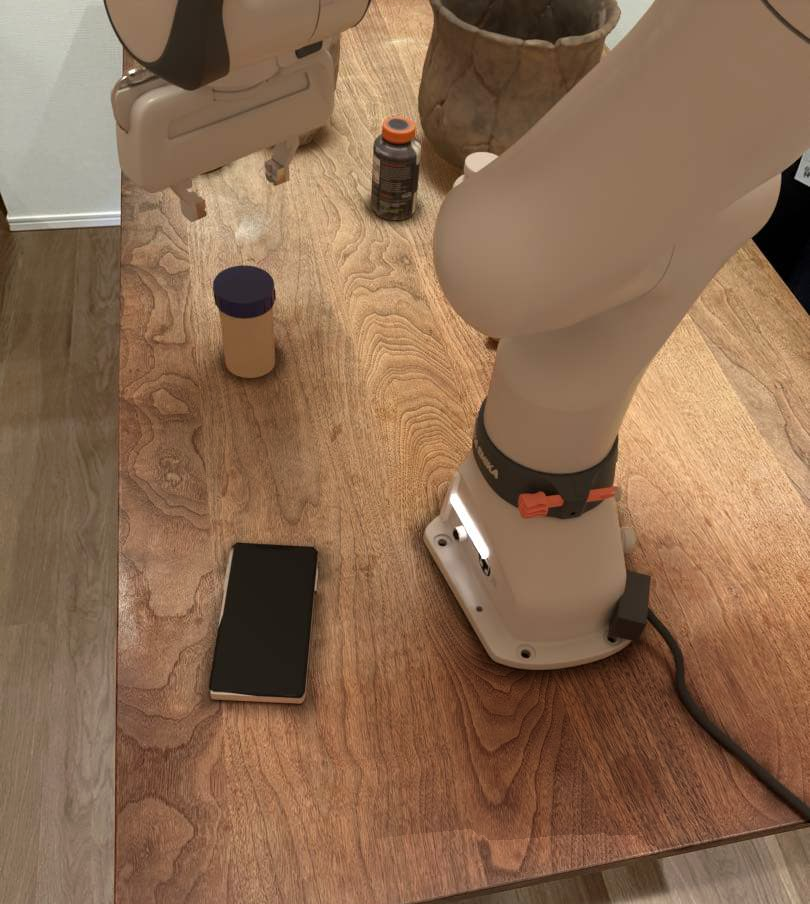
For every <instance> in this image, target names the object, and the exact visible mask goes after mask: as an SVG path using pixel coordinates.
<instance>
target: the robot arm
mask: <svg viewBox="0 0 810 904" xmlns="http://www.w3.org/2000/svg"><path fill="white" fill-rule="evenodd" d="M102 2H103V6H104V9H105V12H106V16H107V18H108V21H109V23H110V26H111V28H112V30H113V32H114V34H115V36H116V38H117V39H118V42H119V44H120V45H121V46H122V48H123V49H124V50H125V51H126V53H127V54H128V55H129V56H130V57H131V58H132V59H133V60H134V61H135V62H137V65H133V66H130V67H128V68H127V69H124V71H123V73H122V75H123V76H122V77H120V78H119V79H118V80H117V81H116V83H115V84H114V86H113V88H112V89H111V91H110V104H111V109H112V115H113V119H114V120H115V136H116V147H117V156H118V163H119V167H120V170H121V172H122V173H123V174H124V176H125V177H126V178H127V179H129V181H131V182H132V183H133V184H134V185H136V186H137V187H139V189H142V190H143V191H144V192H147V193H149V194H156V193H159V192H161V191H164V190H166V189H168V188H169V189H170V190H171V191H172V192H173V193H174V194H175V196H177V197H178V198H179V204H180V211H181V214H182V215H183V217H184V218H185V219H186V220H188V221H189V222H190V223H193V222H195V221H198V220H201V219H203V218H205V217H207V214H208V213H207V210H206V207H207V205H206V199H205V198H203V197H202V196H200V195H199V194H198V193H196V191H194V190H192V191H188V190H190V189H192V188H193V178H196V177H198V176H202V175H204V174H205V173H209V172H212V171H214V170H216V168H217V169H218V168H221V167H223V166H227V165H229V164H231V163H233V162H236V161H238V160H240V159H241V160H242V159H243V158H246V157H248V156H250V155H254V154H256V153H258V152H260V151H263V150H266V149H268V148H270V147H273V146H274V148H273V151H272V154H271V158H269V159H267V160H265V161H264V169H265V172H264V176H265V178H266V180H267V182H269V183H270V184H272V185H273V186H274V187H277V186H279V185H282V184H285V183H287V182H289V181H290V165H291V163H292V162H293V159H294V157H295V154H296V152H297V150H298V148H299V146H300V145H299V135H300V134H303V133H305V132H308V131H310V130H313V129H315V128H318V127H321V128H322V127H323V126H325V125H326V124H328V122H329V120H330V118H331V116H332V114H333V113H334V108H335V92H334V68H333V61H332V57H331V55H330V53H329V52H328V51H327V50H326V49H328V48H329V46H330V43H331V37H333V36H335V35H338V34H340V35H341V34H342V33H344V32H346V31H348V30H349V29H353V28H355V27H357V26H358V25H359V24H360V23H361V22H362V20H363V19H364V17H365V15H366V14H367V12H368V10H369V8H370V5H371V3H372V0H102ZM808 150H810V0H653V2H652V4H651V5H650V7H648V9H647V10H646V11H645V13H643V14H642V16H641V17H640V19H639V20H638V21H637V22H636V23H635V25H634V26H633V27H632V28H631V29H630V30H629V31H628V32H627V33H626V34H625V35H624V37H623V38H622V39H621V40H620V41H619V42H618V43H617V44H616V45H615V46H614V47H613V48H612V49H611V50H610V51H609V52H608V53H607V54H606V55H605V56H604V57H603V58H602V59H600V62H599V63H598V64H597V65H596V66H595V67H594V68H593V69H592V70H591V71H590V72H589V73H587V74H586V75H585V76H584V77H583V78H582V79H581V80H580V81H579V82H578V83H577V84H576V85H575V86H574V87H573V88H572V89H571V90H570V91H569V92H568V93H567V94H566V95H565V96H564V97H563V98H562V99H560V100H559V101H558V102H557V103H556V104H555V105H554V106H553V107H552V108H551V109H550V110H549V111H548V112H547V113H546V114H545V115H544V116H543V117H542V118H541V119H540V120H539V121H538V122H537V123H536V124H535V125H534V126H533V127H532V128H531V129H530V130H529V131H528V132H526V133H525V134H524V135H523V136H522V137H521V138H520V139H519V140H518V141H517V142H516V143H514V144H513V145H512V146H511V147H510V148H508V149H507V150H506V151H505V152H504V153H502V154H501V155H500V156H498V157H497V158H496V159H494V160H493V161H492V162H490V163H489V164H488V165H486V166H485V167H483V168H482V169H481V170H479V171H478V172H476V173H475V174H473V175H472V176H470V177H469V178H467V179H466V180H464V181H463V182H461V183H460V184H459V185H457V186H456V187H454V188H453V187H452V188H451V190H449V192H448V193H447V194H446V195H445V197H444V199H443V200H442V203H441V204H440V207H439V210H438V213H437V216H436V219H435V223H434V229H433V233H432V234H433V236H432V259H433V260H432V261H433V266H434V271H435V276H436V279H437V282H438V284H439V287H440V289H441V291H442V293H443V295H444V298H445V299H446V300H447V302H448V303H449V305H450V306H451V308H452V309H453V310H454V312H455V313H456V314H457V315H458V316H459V317H460V318H461V319H462V320H463V321H464V322H465V323H466V324H467V325H468V326H469V327H471V328H472V329H474V330H475V331H477V332H479V333H480V334H481V335H483V336H486V337H489V338H492V339H493V338H500V341H499V342H498V343H497V347H496V352H495V357H494V362H493V367H492V371H491V376H490V381H489V386H488V391H487V395H486V396H485V398H484V399H483V400H482V403H481V405H480V407H479V410H478V412H477V414H476V417H475V420H474V424H473V431H472V432H473V434H472V441H471V443H472V445H471V446H472V447H471V449H470V450H469V452H467V455H466V456H465V457H464V459H463V460H462V461H461V463H460V464H459V465H458V467H457V468H456V469H454V472H453V474H452V475H451V477H450V481H449V484H448V486H447V490H446V493H445V497H444V500H443V503H442V507H441V510H440V512H439V514H438V515H437V516H436V517H434V518H433V519H432V520H431V521H430V522H429V523H428V524H427V525H426V527H425V529H424V531H423V535H422V540H423V543H424V545H425V546H426V548H427V550H428V551H429V553H430V555H431V557H432V559H433V560H434V562H435V564H436V566H437V567H438V569H439V571H440V573H441V574H442V576H443V579H445V581H446V583H447V585H448V587H449V588H450V590H451V592H452V594H453V595H454V598H455V599H456V601H457V603H458V604H459V606H460V608H461V609H462V611H463V613H464V615H465V616H466V618H467V620H468V622H469V623H470V626H471V627H472V629H473V631H474V632H475V634H476V636H477V638H478V639H479V641H480V643H481V644H482V647H483V648H484V650H485V651H486V653H487V655H488V657H490V659H491V660H492V661H493V662H495V663H497V664H500V665H502V666H503V665H504V666H507V667H510V668H515V669H520V670H528V671H529V670H531V671H545V670H546V671H547V670H558V669H566V668H572V667H573V668H574V667H578V666H582V665H587V664H591V663H593V662H594V663H595V662H597V661H599V660H603V659H606V658H608V657H611V656H613V655H614V654H616V653H618V652H620V651H621V650H623V649H624V648H626V647H627V646H628V645H629V644H630V643H632V642H636V643H637V642H638V640H639V638H640V636H641V635H642V633H643V631H644V630H645V628H646V626H647V623H649V624H650V625H651V626H652V627H653V628H654V629H655V630H656V631H657V632H658V634H659V635H660V636H661V637H662V639H663V640H664V642H665V643H666V645H667V646H668V648H669V650H670V652H671V655H672V658H673V660H674V674H675V675H674V676H675V677H674V678H675V685H676V688H677V692H678V694H679V696H680V697H681V700H682V702H683V703H684V704H685V706H686V707H687V709H688V711H689V712H690V713H691V715H692V716H693V718H695V719H696V720H697V722H698V723H699V724H700V725H701V726H702V727H703V728H704V730H706V731H707V732H708V733H709V734H711V736H712V737H714V738H715V739H716V740H717V741H718V742H720V743H721V744H722V745H723V746H724V747H725V748H727V749H728V751H730V752H731V753H733V755H735V756H736V757H737V758H739V759H740V761H742V762H743V763H744V764H745V765H746V766H747V767H748V769H750V770H751V771H753V773H755V775H756V776H758V777H759V778H760V779H761V780H762V781H763V782H764V783H766V785H768V786H769V787H770V789H772V790H773V791H774V792H776V793H777V794H778V795H779V796H780V797H781V798H782V799H784V800H785V801H786V802H787V803H788V804H789V805H791V806H792V807H793V808H794V809H795V810H797V811H798V812H799V813H800V814H801V815H803V816H804V817H805V818H806V819H807V820H809V821H810V807H809V806H808V805H807V804H806V803H805V802H804V801H802V800H801V799H800V798H799V797H798V796H797V795H795V794H794V793H793V792H792V791H791V790H790V789H788V788H787V787H786V786H785V785H784V784H782V783H781V782H780V781H779V780H778V779H776V777H775V776H773V775H772V774H771V773H770V772H769V771H767V769H765V768H764V767H763V766H762V765H761V764H760V763H759V762H758V761H757V760H756V759H755V758H753V756H751V755H750V754H749V753H748V752H747V751H746V750H745V749H743V748H742V746H740V745H739V744H738V743H737V742H735V741H734V740H733V739H732V738H731V737H729V736H728V735H727V734H726V733H725V732H723V731H722V730H721V729H720V728H719V727H718V726H716V725H715V723H713V722H712V721H711V720H710V718H708V717H707V715H706V714H705V713H704V712H703V711H702V710H701V709H700V707H699V706H698V705H697V703H696V701H695V700H694V698H693V697H692V694H691V693H690V692H689V690H688V688H687V687H688V686H687V684H686V674H685V672H686V671H685V661H684V659H685V658H684V656H683V653H682V650H681V647H680V646H679V644H678V642H677V640H676V639H675V638H674V636H673V635H672V633H671V632H670V630H669V629H668V628H667V627H666V625H665V624H664V623H663V622H662V621H661V620H660V619H659V618H658V616H657V615H656V614H655V613H654V611H652V609H651V608H650V607H649V605H650V604H649V602H650V593H651V592H650V590H651V581H652V576H651V575H650V574H645V573H641V572H637V571H633V570H629V569H626V561H625V560H626V559H625V554H631V553H632V552H635V551H634V550H635V548H636V544H637V537H636V531H635V529H634V528H633V527H631V526H620V520H619V512H618V507H617V502H620V501H621V499H622V489H621V487H620V486H617V485H614V484H615V483H614V482H615V475H616V468H617V467H616V466H617V463H618V460H619V442H620V441H619V440H620V439H619V438H620V437H619V431H620V428H621V426H622V424H623V421H624V420H625V417H626V414H627V413H628V409H629V407H630V405H631V403H632V400H633V399H634V395H635V393H636V391H637V389H638V387H639V384H640V382H641V381H642V379H643V377H644V375H645V374H646V372H647V370H648V369H649V367H650V366H651V364H652V363H653V361H654V359H656V357H657V355H659V352H660V351H661V350H662V348H663V347H664V345H666V344H667V343H666V342H667V341H668V340H669V338H670V337H671V336H672V335H673V333H674V332H675V330H676V329H677V328H678V327H679V325H680V323H682V321H683V320H684V318H685V317H686V315H687V314H688V313H689V312H690V310H691V308H692V307H693V306H694V304H696V302H697V301H698V299H699V298H700V296H701V295H702V294H703V292H704V291H705V289H706V288H707V287H708V286H709V284H711V282H712V280H713V279H714V278H715V277H716V275H717V274H718V273H719V272H720V271H721V270H722V269H723V267H725V265H726V264H727V263H728V262H729V261H730V260H731V259H732V257H733V256H735V255H736V254H737V253H738V251H740V250H741V248H742V247H744V246H745V245H746V244H747V243H748V242H749V241H750V240H752V238H754V236H756V235H757V234H758V233H759V232H760V231H761V230H762V229H763V228H764V227H765V225H766V224H767V223H768V222H769V220H770V218H771V217H772V215H773V213H774V211H775V208H776V207H777V203H778V200H779V196H780V192H781V186H782V185H781V184H782V173H783V172H784V171H785V170H787V169H789V167H790V166H792V165H793V164H794V163H795V162H796V161H797V160H799V159H800V158H801V157H802V156H803V155H804V154H805V153H806V152H808ZM213 169H214V170H213ZM211 170H212V171H211ZM440 544H442V545H440ZM443 545H444V546H443ZM609 639H612V641H613V642H612V641H610V640H609ZM523 654H525V655H527V657H524V656H522V655H523Z"/></svg>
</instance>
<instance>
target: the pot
mask: <svg viewBox="0 0 810 904" xmlns="http://www.w3.org/2000/svg"><path fill="white" fill-rule="evenodd" d="M428 2H429V5H430V8H431V10H432V14H433V26H432V29H431V36H430V40H429V43H428V47H427V50H426V54H425V56H424V57H425V58H424V61H423V64H422V65H423V66H422V71H421V77H420V83H419V86H418V87H419V88H418V95H417V110H418V114H419V120H420V124H421V128H422V132H423V134H424V137H425V138H426V141H427V142H428V143H429V145H430V146H431V148H433V150H434V151H435V152H436V153H437V155H439V157H441V158H442V159H443V160H444V161H446V162H447V163H449V164H451V165H452V166H453V167H455V168H456V169H458V170H460V171H461V172H462V173H464V164H465V160H466V158H467V156H469V155H470V154H473V153H477V152H487V153H492V154H495V155H497V156H500V155H501V154H502V153H504V152H505V151H506V150H507V149H508V148H510V147H511V146H512V145H513V144H514V143H516V142H517V141H518V140H519V139H520V138H521V137H522V136H523V135H524V134H525V133H526V132H528V131H529V130H530V129H531V128H532V127H533V126H534V125H535V124H536V123H537V122H538V121H539V120H540V119H541V118H542V117H543V116H544V115H545V114H546V113H547V112H548V111H549V110H550V109H551V108H552V107H553V106H554V105H555V104H556V103H557V102H558V101H559V100H560V99H562V98H563V97H564V96H565V95H566V94H567V93H568V92H569V91H570V90H571V89H572V88H573V87H574V86H575V85H576V84H577V83H578V82H579V81H580V80H581V79H582V78H583V77H584V76H585V75H586V74H587V73H589V72H590V71H591V70H592V69H593V68H594V67H595V66H596V65H597V64H598V63H599V62H600V61H601V60H602V59H601V58H602V56H603V51H604V46H605V43H606V42H605V41H606V38H607V37H608V36H609V35H610V34H611V33H612V31H613V30H614V29H615V28H616V27H617V25H618V23H619V21H620V19H621V15H622V10H621V8H620V6H619V4H618V3H619V2H618V1H617V0H428Z"/></svg>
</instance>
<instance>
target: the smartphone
mask: <svg viewBox="0 0 810 904" xmlns="http://www.w3.org/2000/svg"><path fill="white" fill-rule="evenodd" d="M318 563H319V551H318V550H317V549H316V548H315V546H308V545H289V544H275V543H274V544H273V543H257V542H256V543H254V542H241V541H240V542H235V543H233V545H232V546H231V547H230V552H229V553H228V559H227V564H226V570H225V576H224V581H223V589H222V591H223V596H222V602H221V607H220V608H221V609H220V614H219V615H220V616H219V621H218V625H217V626H218V627H217V632H216V639H215V643H214V651H213V658H212V664H211V669H210V676H209V682H208V691H209V695H210V698H211V700H217V701H218V700H219V701H237V702H238V701H240V702H259V703H260V702H261V703H278V704H279V703H281V704H297V705H298V704H299V705H300V704H302V703H303V702H304V701H305V699H306V695H307V694H306V693H307V682H308V673H309V662H310V661H309V660H310V652H311V651H310V650H311V640H312V628H313V618H314V617H313V616H314V606H315V605H314V604H315V595H317V589H318V582H319V581H318V579H319V568H318V565H319V564H318Z"/></svg>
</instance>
